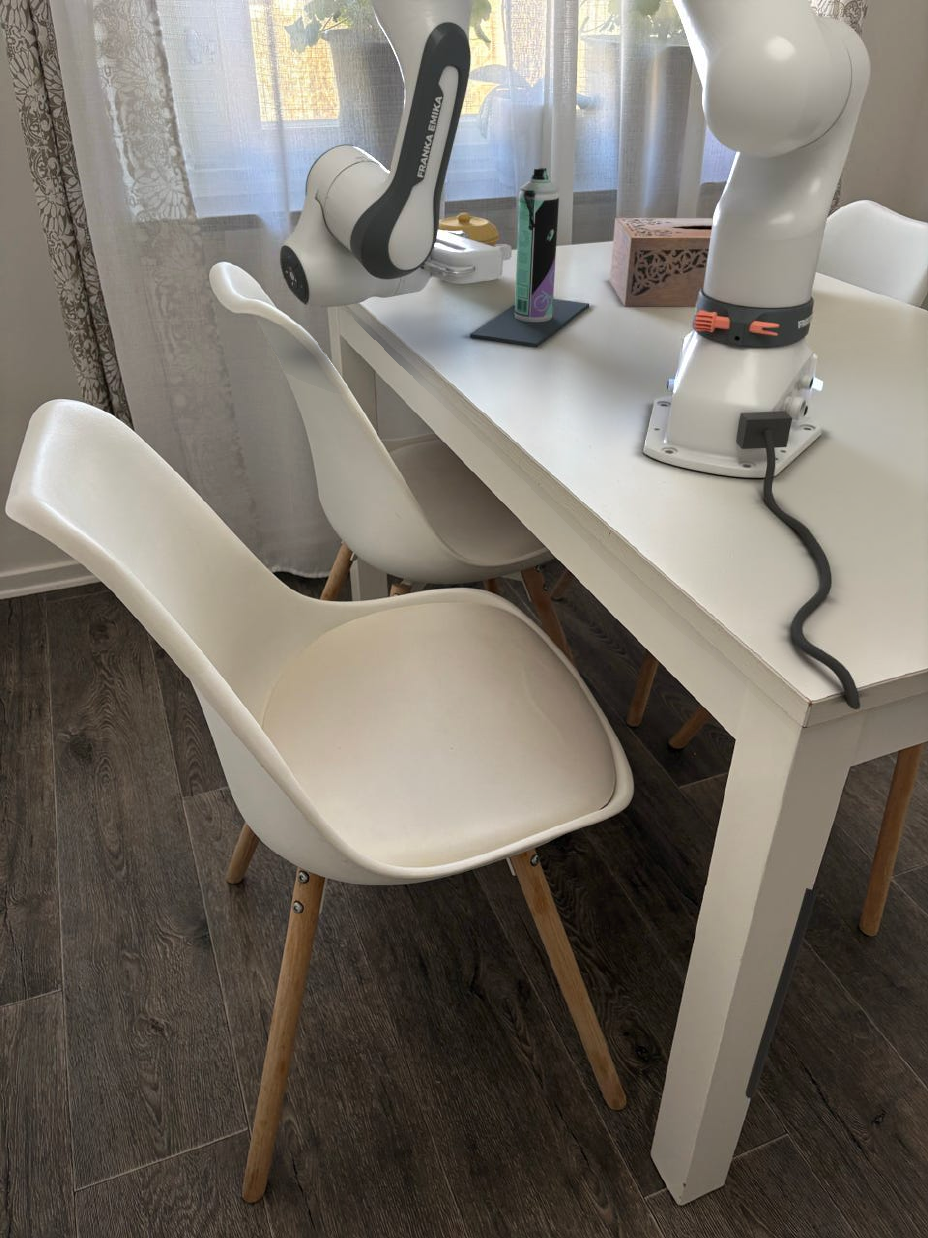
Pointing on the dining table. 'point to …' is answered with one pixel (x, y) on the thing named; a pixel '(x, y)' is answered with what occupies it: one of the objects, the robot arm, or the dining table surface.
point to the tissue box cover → (660, 260)
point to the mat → (529, 325)
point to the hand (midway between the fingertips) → (486, 244)
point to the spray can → (536, 248)
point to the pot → (471, 228)
